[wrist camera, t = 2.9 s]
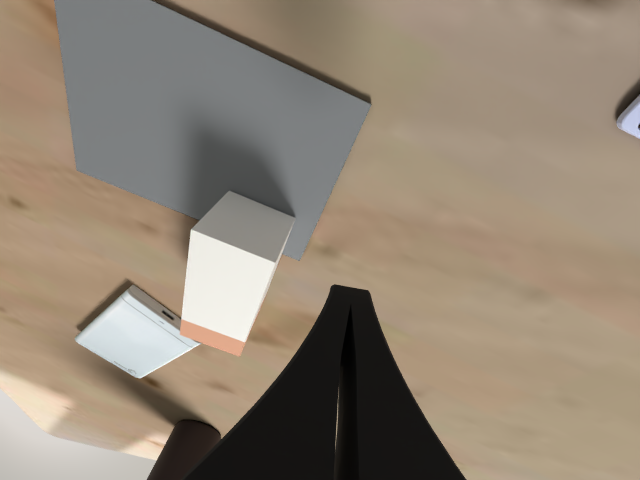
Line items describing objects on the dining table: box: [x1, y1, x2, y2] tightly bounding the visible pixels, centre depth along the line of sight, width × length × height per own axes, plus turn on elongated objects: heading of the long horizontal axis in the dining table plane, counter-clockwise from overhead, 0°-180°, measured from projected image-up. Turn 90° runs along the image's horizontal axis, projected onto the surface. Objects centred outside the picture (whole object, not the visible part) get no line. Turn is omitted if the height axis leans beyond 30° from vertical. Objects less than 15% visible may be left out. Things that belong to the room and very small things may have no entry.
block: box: [180, 191, 296, 357], centre depth 19 cm, size 4×4×10 cm
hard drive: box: [75, 285, 201, 378], centre depth 28 cm, size 2×8×12 cm
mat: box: [54, 0, 371, 261], centre depth 16 cm, size 16×11×1 cm
